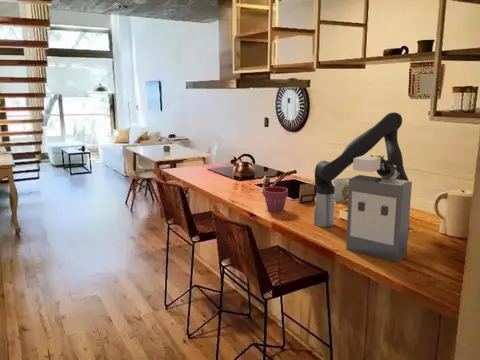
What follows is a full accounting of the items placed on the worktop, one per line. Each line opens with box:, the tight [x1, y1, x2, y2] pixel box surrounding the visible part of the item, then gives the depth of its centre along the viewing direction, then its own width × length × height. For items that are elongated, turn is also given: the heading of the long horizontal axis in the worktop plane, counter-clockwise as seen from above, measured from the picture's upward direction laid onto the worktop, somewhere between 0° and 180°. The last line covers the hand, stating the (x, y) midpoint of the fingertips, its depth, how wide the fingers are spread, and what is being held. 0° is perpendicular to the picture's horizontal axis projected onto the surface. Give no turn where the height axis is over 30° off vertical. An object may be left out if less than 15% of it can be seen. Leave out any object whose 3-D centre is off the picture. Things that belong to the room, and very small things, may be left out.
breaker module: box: [352, 155, 385, 173], centre depth 184 cm, size 8×19×5 cm, turn 139°
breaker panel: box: [345, 174, 413, 263], centre depth 181 cm, size 23×11×32 cm, turn 49°
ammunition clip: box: [298, 182, 316, 204], centre depth 263 cm, size 11×2×12 cm, turn 114°
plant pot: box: [263, 186, 289, 214], centre depth 246 cm, size 14×14×13 cm
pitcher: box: [332, 177, 351, 203], centre depth 263 cm, size 11×18×14 cm, turn 122°
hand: (375, 157), depth 186 cm, fingers closed on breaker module, 3 cm apart
